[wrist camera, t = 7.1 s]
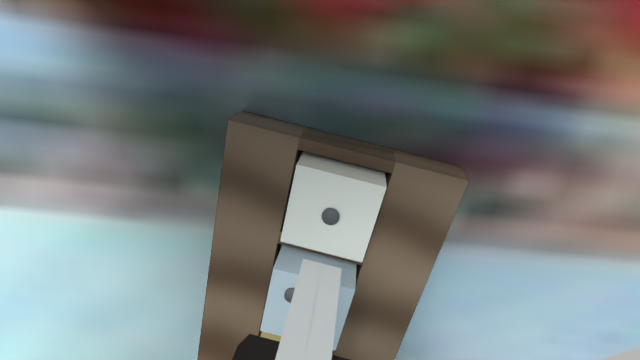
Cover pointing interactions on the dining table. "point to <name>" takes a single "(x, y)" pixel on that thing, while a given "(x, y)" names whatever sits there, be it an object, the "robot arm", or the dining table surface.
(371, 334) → the board
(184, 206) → the dining table surface
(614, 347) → the dining table surface
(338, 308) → the two-dot tile
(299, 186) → the tile
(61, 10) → the dining table surface
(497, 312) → the dining table surface
